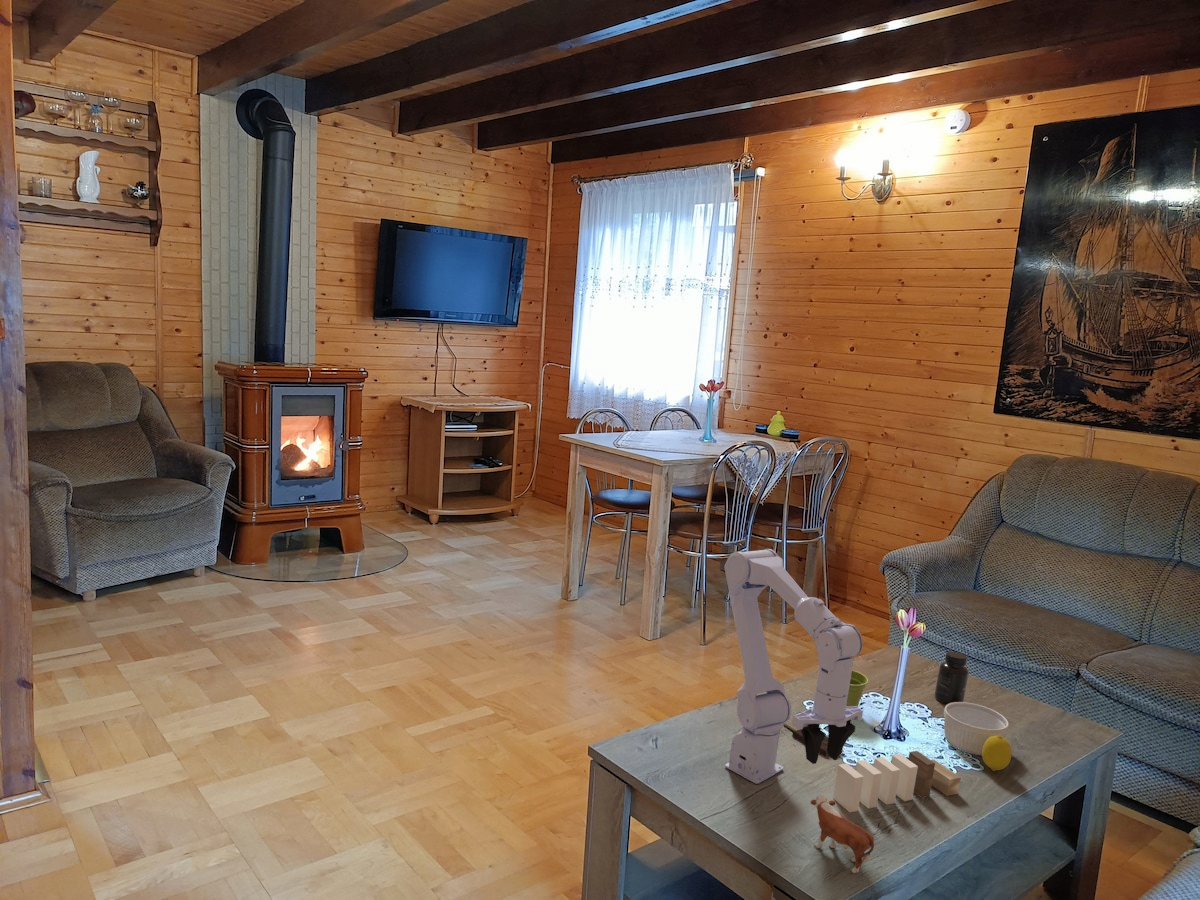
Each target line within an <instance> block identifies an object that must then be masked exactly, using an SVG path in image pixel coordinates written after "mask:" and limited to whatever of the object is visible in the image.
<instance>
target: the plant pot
mask: <svg viewBox="0 0 1200 900" xmlns="http://www.w3.org/2000/svg"><path fill="white" fill-rule="evenodd" d="M868 683H869V679H868V677H867V676H866V675H865V674H863V673H861V672H859V671H858V670H857V671H856V670H854V669H852V673H851V679H850V686H849V692H848V698H847V705H846V706H857V707H858V708H859V704H860V701H861V699H862V694H863V691H864V689H865V688H866V685H868Z"/></svg>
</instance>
